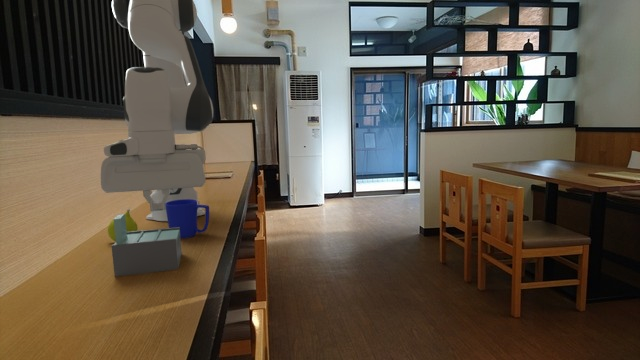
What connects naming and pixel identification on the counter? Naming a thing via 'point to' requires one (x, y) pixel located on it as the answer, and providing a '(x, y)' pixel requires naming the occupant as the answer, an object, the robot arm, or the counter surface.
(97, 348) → the counter surface
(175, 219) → the mug
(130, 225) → the pear
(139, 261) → the grey box
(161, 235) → the lid
